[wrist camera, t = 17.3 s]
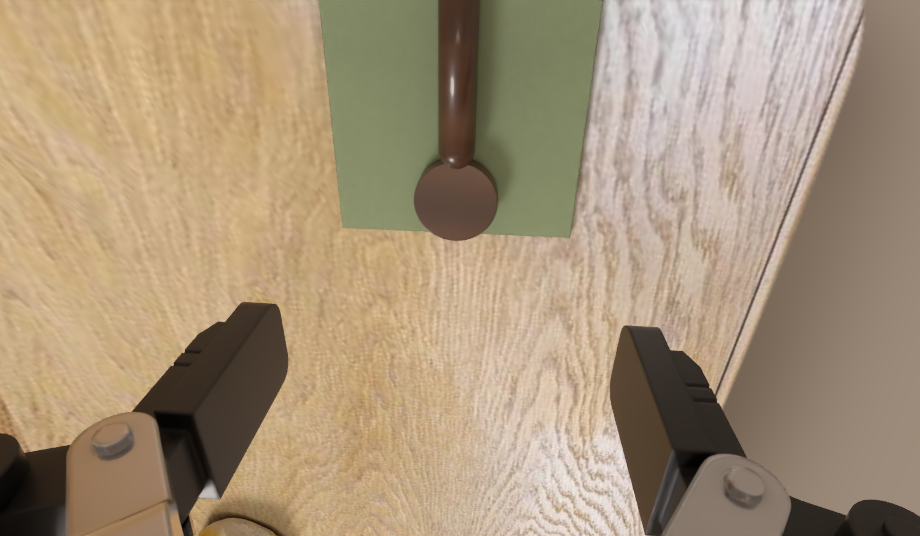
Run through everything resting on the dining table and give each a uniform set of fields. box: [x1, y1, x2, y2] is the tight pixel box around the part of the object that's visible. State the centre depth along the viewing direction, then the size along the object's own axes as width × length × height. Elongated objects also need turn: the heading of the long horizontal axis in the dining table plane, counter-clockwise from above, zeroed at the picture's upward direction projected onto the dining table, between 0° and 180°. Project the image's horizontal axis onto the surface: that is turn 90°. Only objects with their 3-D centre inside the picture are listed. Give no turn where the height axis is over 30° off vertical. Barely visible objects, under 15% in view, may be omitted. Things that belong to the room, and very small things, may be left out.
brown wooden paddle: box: [414, 0, 498, 241], centre depth 26 cm, size 17×5×2 cm, turn 179°
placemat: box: [319, 0, 603, 238], centre depth 27 cm, size 18×14×1 cm
